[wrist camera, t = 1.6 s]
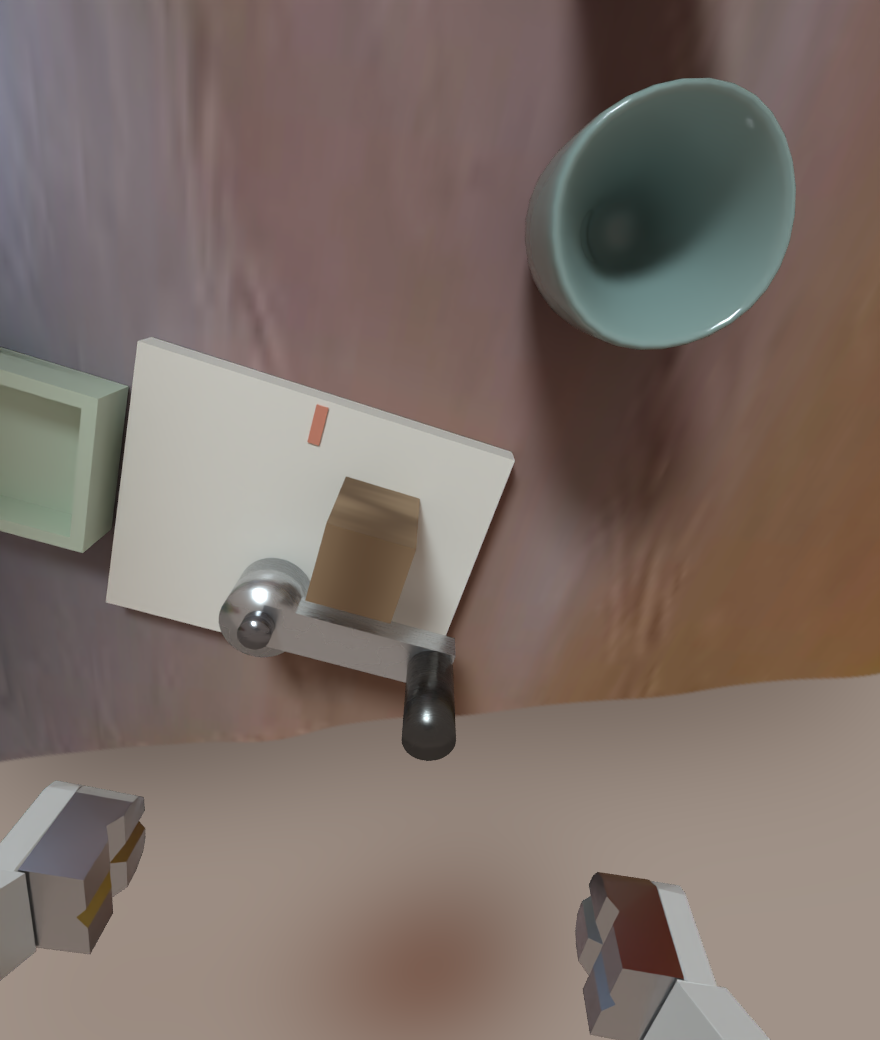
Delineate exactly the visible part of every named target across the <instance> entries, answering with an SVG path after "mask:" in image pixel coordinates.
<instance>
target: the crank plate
mask: <svg viewBox="0 0 880 1040" xmlns="http://www.w3.org/2000/svg"><path fill="white" fill-rule="evenodd" d="M514 462H515V459H514V457H513V454H512V452H510V451H507V450H504V449H501V448H498V447H495V446H491V445H488V444H485V443H482V442H479V441H476V440H473V439H469V438H466V437H463V436H460V435H457V434H454V433H451V432H448V431H444V430H441V429H438V428H435V427H432V426H429V425H426V424H422V423H419V422H416V421H413V420H410V419H407V418H404V417H401V416H397V415H394V414H391V413H388V412H385V411H382V410H379V409H375V408H372V407H369V406H366V405H363V404H360V403H357V402H354V401H350V400H347V399H344V398H341V397H338V396H335V395H332V394H328V393H325V392H322V391H319V390H316V389H313V388H310V387H306V386H303V385H300V384H297V383H294V382H291V381H288V380H285V379H281V378H278V377H275V376H272V375H269V374H266V373H263V372H259V371H256V370H253V369H250V368H247V367H244V366H241V365H238V364H234V363H231V362H228V361H225V360H222V359H219V358H216V357H212V356H209V355H206V354H203V353H200V352H197V351H194V350H191V349H187V348H184V347H181V346H178V345H175V344H172V343H169V342H165V341H162V340H159V339H156V338H153V337H150V338H147V339H143V340H139V341H138V343H137V352H136V360H135V368H134V376H133V384H132V392H131V401H130V409H129V417H128V425H127V433H126V441H125V449H124V458H123V466H122V474H121V482H120V490H119V498H118V507H117V515H116V523H115V531H114V539H113V547H112V555H111V564H110V572H109V580H108V588H107V596H106V602H107V603H111V604H115V605H118V606H122V607H126V608H130V609H134V610H138V611H141V612H145V613H149V614H153V615H157V616H161V617H165V618H168V619H172V620H176V621H180V622H184V623H188V624H191V625H195V626H199V627H203V628H207V629H211V630H215V631H218V632H221V630H220V627H219V613H220V610H221V607H222V605H223V604H224V602H225V601H226V599H227V597H228V596H229V594H230V593H231V591H232V589H233V588H234V586H235V584H236V583H237V581H238V580H239V578H240V576H241V575H242V573H243V572H244V570H245V569H246V568H247V567H248V566H249V565H250V564H252V563H253V562H255V561H258V560H260V559H264V558H279V559H284V560H287V561H289V562H291V563H293V564H295V565H296V566H298V567H299V568H300V569H301V570H302V571H303V572H304V573H305V574H306V576H307V577H308V579H309V581H311V577H312V574H313V570H314V566H315V563H316V559H317V555H318V552H319V548H320V545H321V541H322V537H323V534H324V530H325V526H326V523H327V521H328V518H329V516H330V513H331V511H332V509H333V506H334V504H335V501H336V499H337V497H338V494H339V492H340V489H341V487H342V485H343V482H344V480H345V477H346V476H347V477H350V478H353V479H356V480H360V481H363V482H366V483H370V484H373V485H376V486H380V487H383V488H386V489H390V490H393V491H396V492H400V493H403V494H406V495H409V496H413V497H416V498H419V499H420V504H419V518H418V533H417V547H416V552H415V555H414V558H413V560H412V563H411V566H410V569H409V572H408V575H407V578H406V581H405V583H404V586H403V589H402V592H401V595H400V598H399V601H398V604H397V606H396V609H395V612H394V615H393V618H392V621H393V622H397V623H401V624H404V625H408V626H412V627H415V628H419V629H423V630H426V631H430V632H434V633H437V634H441V635H445V636H446V634H447V631H448V629H449V626H450V624H451V621H452V619H453V616H454V614H455V611H456V609H457V606H458V604H459V601H460V598H461V596H462V593H463V591H464V588H465V586H466V583H467V581H468V578H469V576H470V573H471V571H472V568H473V566H474V563H475V560H476V558H477V555H478V553H479V550H480V548H481V545H482V543H483V540H484V538H485V535H486V533H487V530H488V528H489V525H490V522H491V520H492V517H493V515H494V512H495V510H496V507H497V505H498V502H499V500H500V497H501V495H502V492H503V490H504V487H505V484H506V482H507V479H508V477H509V474H510V472H511V469H512V467H513V464H514Z"/></svg>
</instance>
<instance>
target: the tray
mask: <svg viewBox="0 0 880 1040" xmlns="http://www.w3.org/2000/svg"><path fill="white" fill-rule="evenodd" d="M128 388H129V386H126V385H123V384H120V383H116V382H113V381H110V380H107V379H103V378H100V377H97V376H94V375H90V374H87V373H84V372H81V371H77V370H74V369H71V368H67V367H64V366H61V365H58V364H54V363H51V362H48V361H45V360H41V359H38V358H35V357H32V356H28V355H25V354H22V353H19V352H15V351H12V350H9V349H6V348H2V347H0V531H2V532H6V533H10V534H14V535H17V536H21V537H25V538H28V539H32V540H36V541H40V542H43V543H47V544H51V545H54V546H58V547H62V548H66V549H69V550H73V551H77V552H80V553H83V552H85V551H86V550H87V549H88V548H89V547H91V546H92V545H93V544H94V543H95V542H97V541H98V540H99V539H100V538H101V537H103V536H104V535H105V534H106V533H107V532H109V531H110V530H111V529H112V521H113V513H114V504H115V496H116V488H117V479H118V471H119V463H120V454H121V446H122V438H123V429H124V421H125V413H126V404H127V396H128Z"/></svg>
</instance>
